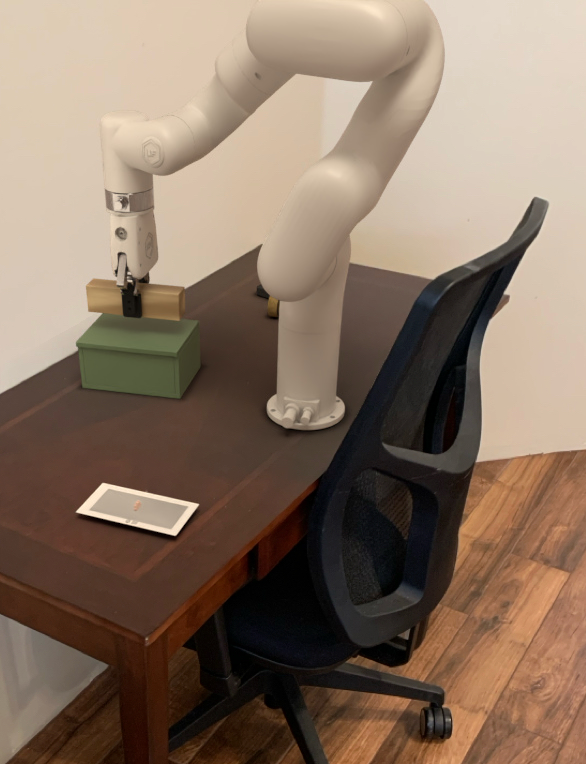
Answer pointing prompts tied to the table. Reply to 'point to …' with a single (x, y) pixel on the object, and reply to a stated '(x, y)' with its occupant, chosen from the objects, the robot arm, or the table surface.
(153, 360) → the box
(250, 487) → the table surface
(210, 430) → the table surface
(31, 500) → the table surface
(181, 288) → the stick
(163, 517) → the touchpad
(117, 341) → the box lid
